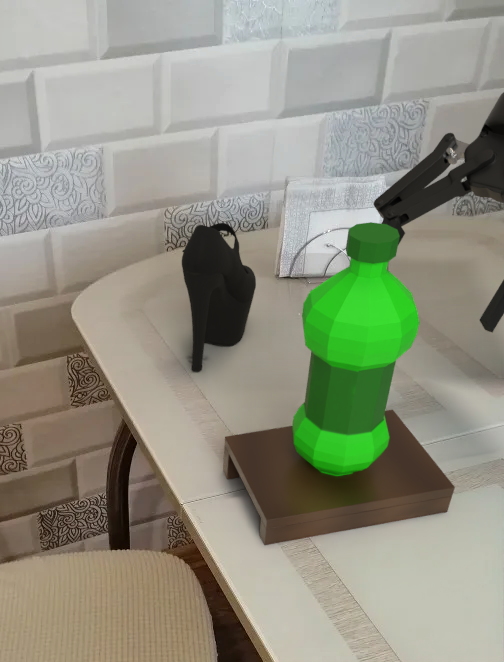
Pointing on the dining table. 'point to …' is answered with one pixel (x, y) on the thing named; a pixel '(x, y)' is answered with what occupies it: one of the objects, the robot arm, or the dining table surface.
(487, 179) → the robot arm
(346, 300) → the plastic bottle
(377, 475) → the wooden display riser
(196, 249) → the high-heeled shoe
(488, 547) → the dining table surface
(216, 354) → the dining table surface
